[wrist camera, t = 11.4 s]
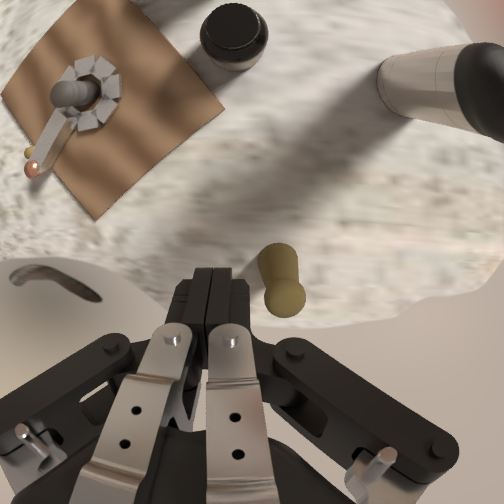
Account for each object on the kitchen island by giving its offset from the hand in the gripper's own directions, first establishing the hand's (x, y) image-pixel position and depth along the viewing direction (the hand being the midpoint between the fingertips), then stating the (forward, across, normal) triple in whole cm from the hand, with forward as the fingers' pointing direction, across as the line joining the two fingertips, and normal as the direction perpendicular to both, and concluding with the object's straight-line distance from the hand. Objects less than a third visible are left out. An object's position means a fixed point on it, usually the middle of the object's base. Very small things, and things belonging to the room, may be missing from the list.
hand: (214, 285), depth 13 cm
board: (+29, +19, -11) cm, 36 cm away
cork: (+29, -6, +15) cm, 33 cm away
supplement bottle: (+29, 0, -15) cm, 33 cm away
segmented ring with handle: (+27, +22, -8) cm, 36 cm away
